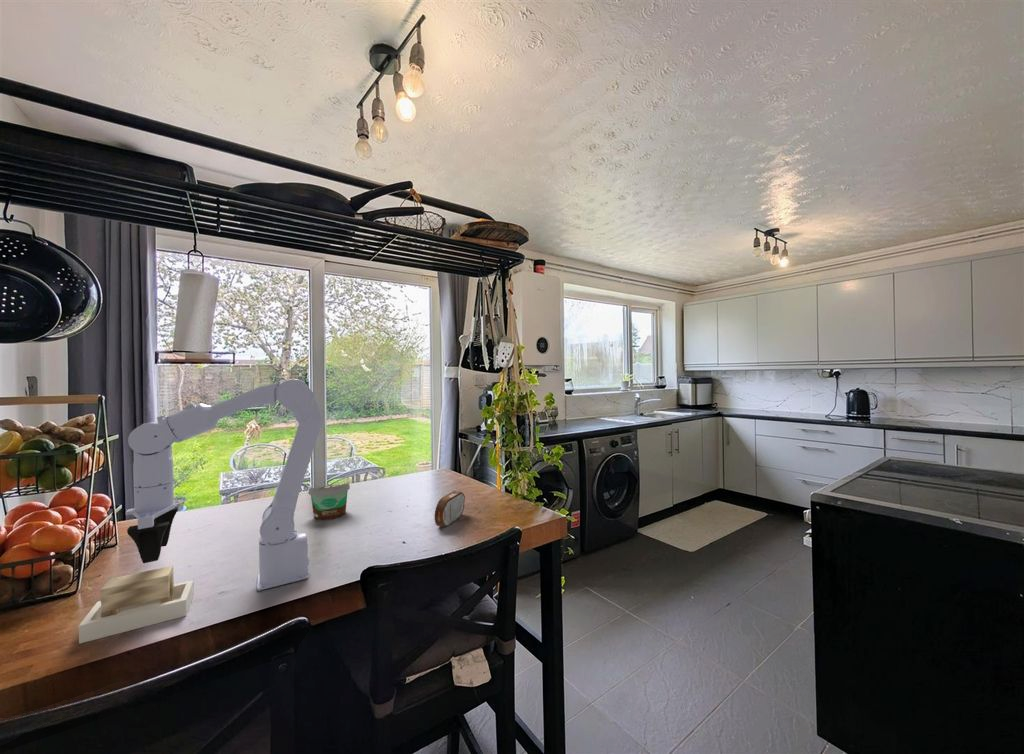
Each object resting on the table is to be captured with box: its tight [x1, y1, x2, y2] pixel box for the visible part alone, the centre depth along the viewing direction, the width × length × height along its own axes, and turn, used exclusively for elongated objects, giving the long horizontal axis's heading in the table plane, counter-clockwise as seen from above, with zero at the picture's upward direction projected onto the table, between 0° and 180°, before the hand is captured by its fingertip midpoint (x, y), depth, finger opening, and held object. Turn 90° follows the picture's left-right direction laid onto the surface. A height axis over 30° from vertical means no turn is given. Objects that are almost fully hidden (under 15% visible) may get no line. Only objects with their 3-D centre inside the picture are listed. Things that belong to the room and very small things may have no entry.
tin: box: [434, 490, 466, 528], centre depth 118 cm, size 15×3×8 cm, turn 161°
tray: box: [78, 579, 195, 644], centre depth 73 cm, size 14×8×3 cm, turn 122°
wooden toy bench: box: [100, 565, 175, 618], centre depth 73 cm, size 9×4×6 cm, turn 122°
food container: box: [307, 480, 351, 521], centre depth 124 cm, size 12×6×10 cm, turn 126°
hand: (155, 553), depth 76 cm, fingers open, 7 cm apart
